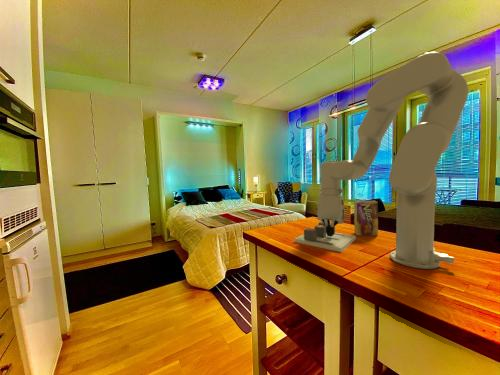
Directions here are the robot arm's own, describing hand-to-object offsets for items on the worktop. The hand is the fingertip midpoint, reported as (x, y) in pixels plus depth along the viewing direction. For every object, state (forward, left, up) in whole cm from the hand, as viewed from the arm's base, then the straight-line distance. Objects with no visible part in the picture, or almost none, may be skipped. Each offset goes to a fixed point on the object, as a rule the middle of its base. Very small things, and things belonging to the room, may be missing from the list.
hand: (330, 235), depth 89 cm
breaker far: (+6, -7, -1) cm, 9 cm away
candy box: (-9, -19, -3) cm, 21 cm away
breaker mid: (+4, 0, -1) cm, 4 cm away
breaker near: (+6, +7, -1) cm, 9 cm away
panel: (+2, 0, -3) cm, 3 cm away
